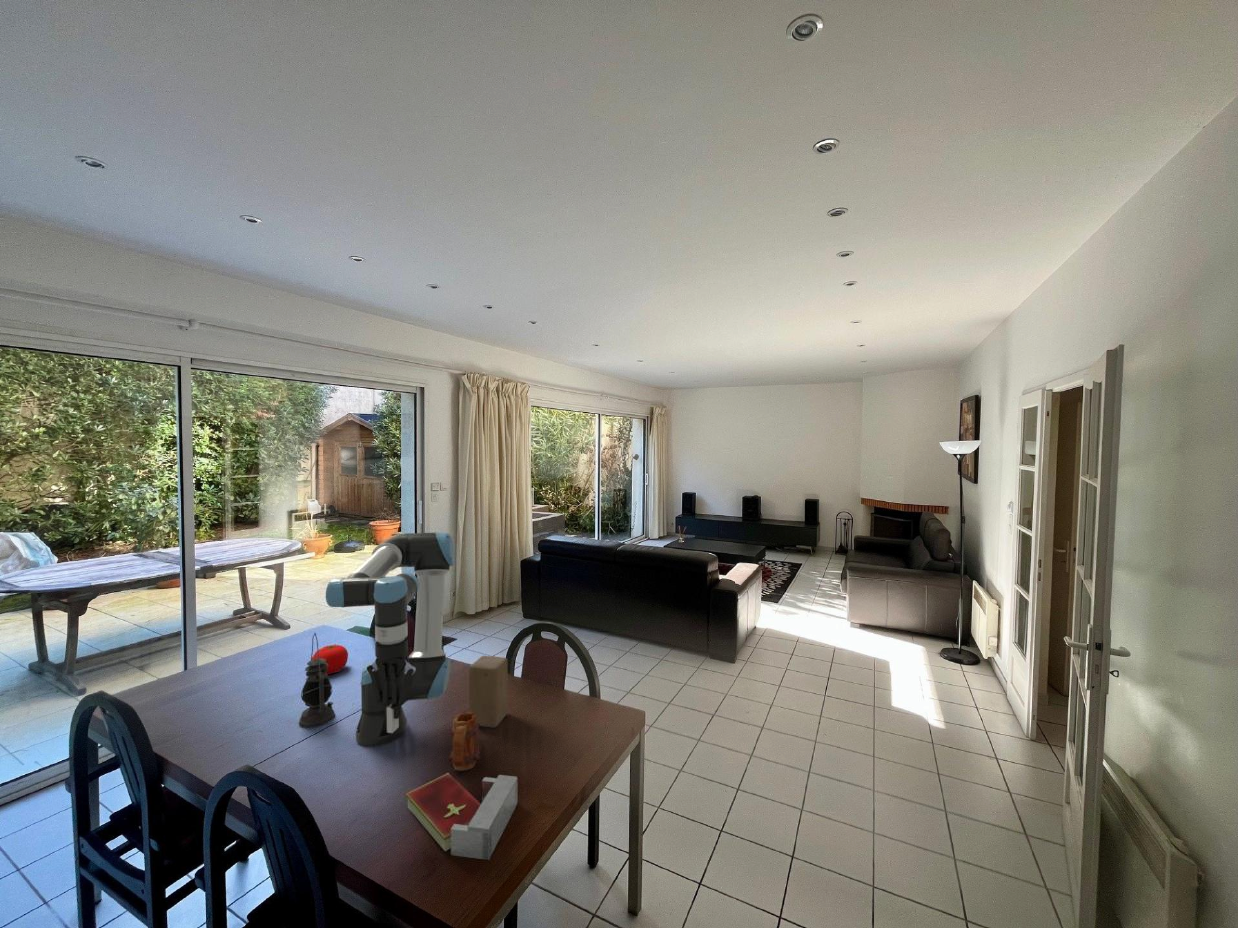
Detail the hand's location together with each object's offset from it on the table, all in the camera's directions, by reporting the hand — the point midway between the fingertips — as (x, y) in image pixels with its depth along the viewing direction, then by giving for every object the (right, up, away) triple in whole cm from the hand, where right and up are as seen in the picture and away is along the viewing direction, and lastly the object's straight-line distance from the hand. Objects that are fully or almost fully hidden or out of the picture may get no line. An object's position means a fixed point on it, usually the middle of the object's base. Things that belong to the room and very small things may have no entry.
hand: (392, 729), depth 126 cm
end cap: (+25, -20, -7) cm, 33 cm away
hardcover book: (+15, -21, -3) cm, 26 cm away
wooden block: (+14, -19, +42) cm, 48 cm away
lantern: (-45, -19, +42) cm, 64 cm away
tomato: (-62, -19, +79) cm, 102 cm away
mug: (+13, -20, +14) cm, 28 cm away
